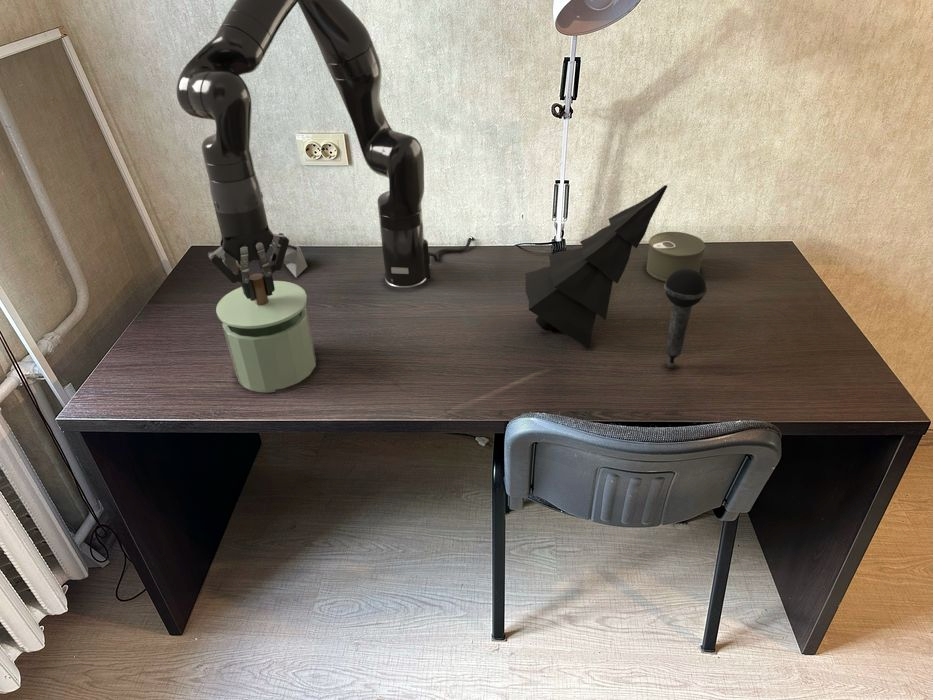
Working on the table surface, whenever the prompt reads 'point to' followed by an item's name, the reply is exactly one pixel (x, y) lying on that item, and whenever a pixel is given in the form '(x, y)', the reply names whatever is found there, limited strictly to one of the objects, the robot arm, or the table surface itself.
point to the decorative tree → (587, 273)
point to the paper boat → (294, 259)
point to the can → (673, 253)
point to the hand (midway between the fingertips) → (260, 296)
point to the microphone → (681, 306)
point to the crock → (272, 353)
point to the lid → (261, 305)
